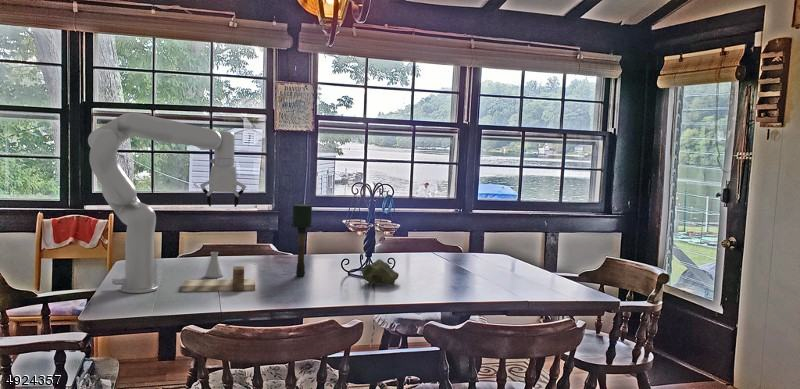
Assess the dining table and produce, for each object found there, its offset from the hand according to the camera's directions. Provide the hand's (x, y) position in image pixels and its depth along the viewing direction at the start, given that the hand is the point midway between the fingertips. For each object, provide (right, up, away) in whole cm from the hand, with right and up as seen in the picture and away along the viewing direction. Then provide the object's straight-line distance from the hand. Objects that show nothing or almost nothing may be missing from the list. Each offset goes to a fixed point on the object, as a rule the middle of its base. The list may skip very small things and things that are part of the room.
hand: (222, 206), depth 238 cm
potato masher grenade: (+28, -30, +17) cm, 44 cm away
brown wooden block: (+8, -30, -7) cm, 32 cm away
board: (+2, -31, -10) cm, 32 cm away
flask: (-6, -29, +9) cm, 31 cm away
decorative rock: (+62, -32, +7) cm, 70 cm away
